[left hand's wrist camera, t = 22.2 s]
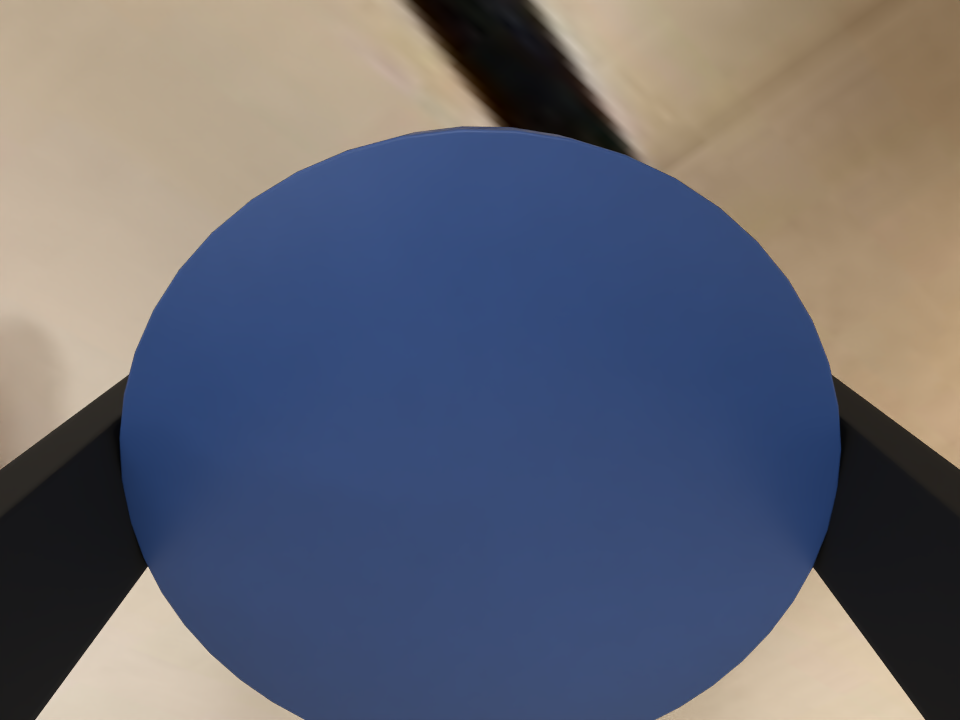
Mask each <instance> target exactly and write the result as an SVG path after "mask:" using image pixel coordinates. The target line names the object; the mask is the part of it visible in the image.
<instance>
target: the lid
mask: <svg viewBox="0 0 960 720" xmlns="http://www.w3.org/2000/svg"><path fill="white" fill-rule="evenodd" d="M840 456H841V438H840V422H839V406H838V402H837V397H836V392H835V388H834V383H833V379H832V374H831V370H830V365H829V362H828V359H827V356H826V354H825V351H824V349H823V346H822V344H821V341H820V339H819V336H818V334H817V331H816V328H815V326H814V323H813V321H812V319H811V317H810V316H809V314H808V312H807V310H806V309H805V307H804V305H803V304H802V302H801V300H800V298H799V297H798V295H797V293H796V292H795V290H794V288H793V287H792V285H791V283H790V281H789V280H788V279H787V277H786V276H785V275H784V274H783V272H782V271H781V270H780V269H779V268H778V266H777V265H776V264H775V263H774V261H773V260H772V259H771V258H770V256H769V255H768V254H767V253H766V252H765V250H764V249H763V248H762V247H761V245H760V244H759V243H758V242H757V241H756V240H755V239H754V238H753V237H752V236H751V235H749V234H748V233H747V232H746V231H745V230H744V229H743V228H742V227H741V226H739V225H738V224H737V223H736V222H735V221H734V220H733V219H732V218H731V217H729V216H728V215H727V214H726V213H725V212H724V211H723V210H722V209H721V208H719V207H718V206H716V205H715V204H713V203H712V202H710V201H709V200H707V199H706V198H704V197H703V196H701V195H700V194H698V193H697V192H695V191H694V190H692V189H691V188H689V187H688V186H686V185H685V184H683V183H682V182H680V181H679V180H677V179H676V178H674V177H672V176H669V175H667V174H665V173H663V172H661V171H659V170H657V169H654V168H652V167H650V166H648V165H646V164H644V163H642V162H640V161H637V160H635V159H633V158H631V157H629V156H627V155H624V154H621V153H618V152H614V151H611V150H608V149H604V148H601V147H598V146H595V145H591V144H588V143H585V142H582V141H578V140H575V139H572V138H568V137H564V136H560V135H556V134H549V133H543V132H537V131H530V130H524V129H518V128H511V127H463V126H462V127H454V128H446V129H438V130H429V131H421V132H414V133H410V134H406V135H403V136H399V137H395V138H392V139H388V140H384V141H380V142H377V143H373V144H369V145H365V146H362V147H358V148H354V149H350V150H347V151H345V152H342V153H340V154H338V155H335V156H333V157H331V158H328V159H326V160H324V161H321V162H319V163H317V164H314V165H312V166H310V167H307V168H305V169H303V170H300V171H298V172H296V173H294V174H293V175H291V176H289V177H288V178H286V179H285V180H283V181H281V182H280V183H278V184H276V185H275V186H273V187H271V188H270V189H268V190H267V191H265V192H263V193H262V194H260V195H258V196H257V197H255V198H253V199H252V200H251V201H249V202H248V203H247V204H246V205H245V206H243V207H242V208H241V209H240V210H239V211H237V212H236V213H235V214H234V215H233V216H231V217H230V218H229V219H228V220H227V221H225V222H224V223H223V224H222V225H221V226H219V227H218V228H217V229H216V230H215V231H213V232H212V233H211V234H210V235H209V237H208V238H207V239H206V240H205V241H204V242H203V243H202V245H201V246H200V247H199V248H198V249H197V250H196V251H195V252H194V254H193V255H192V256H191V257H190V258H189V259H188V260H187V262H186V263H185V264H184V265H183V266H182V267H181V268H180V269H179V271H178V272H177V274H176V276H175V277H174V279H173V280H172V282H171V283H170V285H169V287H168V288H167V290H166V291H165V293H164V294H163V296H162V297H161V299H160V301H159V302H158V304H157V305H156V307H155V308H154V310H153V312H152V315H151V317H150V319H149V321H148V324H147V326H146V328H145V330H144V333H143V335H142V337H141V340H140V342H139V344H138V346H137V349H136V351H135V354H134V358H133V362H132V366H131V370H130V373H129V377H128V381H127V385H126V389H125V392H124V398H123V408H122V418H121V428H120V457H121V476H122V483H123V488H124V493H125V497H126V502H127V506H128V511H129V515H130V520H131V524H132V527H133V530H134V533H135V535H136V538H137V541H138V544H139V546H140V549H141V552H142V555H143V558H144V559H145V561H146V563H147V565H148V567H149V569H150V571H151V573H152V575H153V577H154V579H155V580H156V582H157V584H158V586H159V588H160V590H161V592H162V594H163V595H164V596H165V598H166V599H167V601H168V602H169V604H170V605H171V606H172V608H173V609H174V611H175V612H176V614H177V615H178V616H179V618H180V619H181V621H182V622H183V624H184V625H185V626H186V627H187V628H188V629H189V630H190V632H191V633H192V634H193V635H194V636H195V637H196V638H197V639H198V640H199V641H200V643H201V644H202V645H203V646H204V647H205V648H206V649H207V650H208V651H209V653H210V654H211V655H213V656H214V657H215V658H216V659H217V660H218V661H219V662H221V663H222V664H223V665H224V666H225V667H226V668H227V669H229V670H230V671H231V672H232V673H233V674H234V675H235V676H237V677H238V678H239V679H240V680H241V681H243V682H244V683H246V684H247V685H249V686H250V687H251V688H253V689H254V690H256V691H257V692H259V693H260V694H262V695H263V696H264V697H266V698H267V699H269V700H270V701H272V702H273V703H275V704H277V705H279V706H281V707H282V708H284V709H286V710H288V711H290V712H292V713H293V714H295V715H297V716H299V717H301V718H303V719H304V720H656V719H658V718H660V717H662V716H663V715H665V714H667V713H669V712H671V711H673V710H675V709H677V708H679V707H681V706H682V705H684V704H685V703H687V702H688V701H690V700H692V699H693V698H695V697H696V696H698V695H699V694H701V693H702V692H704V691H705V690H707V689H708V688H710V687H711V686H713V685H714V684H715V683H717V682H718V681H719V680H720V679H721V678H723V677H724V676H725V675H726V674H727V673H729V672H730V671H731V670H732V669H733V668H735V667H736V666H737V665H738V664H740V663H741V662H742V661H743V660H744V659H745V658H746V657H747V656H748V655H749V654H750V653H751V652H752V651H753V650H754V649H755V648H756V647H757V646H758V644H759V643H760V642H761V641H762V640H763V639H764V638H765V637H766V636H767V635H768V634H769V633H770V632H771V630H772V629H773V628H774V626H775V625H776V624H777V622H778V621H779V620H780V618H781V617H782V616H783V614H784V613H785V612H786V610H787V609H788V608H789V606H790V605H791V604H792V602H793V601H794V599H795V598H796V596H797V594H798V592H799V591H800V589H801V587H802V585H803V583H804V582H805V580H806V578H807V576H808V575H809V573H810V571H811V569H812V568H813V565H814V563H815V560H816V558H817V555H818V553H819V550H820V548H821V545H822V543H823V540H824V538H825V535H826V533H827V530H828V527H829V523H830V518H831V514H832V510H833V505H834V501H835V496H836V492H837V487H838V478H839V467H840Z"/></svg>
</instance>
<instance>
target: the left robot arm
mask: <svg viewBox="0 0 960 720" xmlns="http://www.w3.org/2000/svg"><path fill="white" fill-rule="evenodd" d="M128 377H129V375H128V376H126V377H125V378H124V379H122V380H121V381H120V382H118V383H117V384H116V385H114V386H113V387H112V388H110V389H109V390H108V391H106V392H105V393H104V394H102V395H101V396H99V397H98V398H97V399H95V400H94V401H93V402H91V403H90V404H89V405H87V406H86V407H85V408H83V409H82V410H81V411H79V412H78V413H77V414H75V415H74V416H72V417H71V418H70V419H68V420H67V421H66V422H64V423H63V424H62V425H60V426H59V427H58V428H56V429H55V430H54V431H52V432H51V433H50V434H48V435H47V436H45V437H44V438H43V439H41V440H40V441H39V442H37V443H36V444H35V445H33V446H32V447H31V448H29V449H28V450H27V451H25V452H24V453H23V454H21V455H20V456H18V457H17V458H16V459H14V460H13V461H12V462H10V463H9V464H8V465H6V466H5V467H4V468H2V469H1V470H0V720H35V719H36V718H37V717H38V715H39V714H40V712H41V711H42V710H43V708H44V707H45V706H46V704H47V703H48V702H49V700H50V699H51V697H52V696H53V695H54V693H55V692H56V691H57V689H58V688H59V687H60V685H61V684H62V683H63V681H64V680H65V678H66V677H67V676H68V674H69V673H70V672H71V670H72V669H73V668H74V666H75V665H76V663H77V662H78V661H79V659H80V658H81V657H82V655H83V654H84V653H85V651H86V650H87V649H88V647H89V646H90V644H91V643H92V642H93V640H94V639H95V638H96V636H97V635H98V634H99V632H100V631H101V629H102V628H103V627H104V625H105V624H106V623H107V621H108V620H109V619H110V617H111V616H112V614H113V613H114V612H115V610H116V609H117V608H118V606H119V605H120V604H121V602H122V601H123V600H124V598H125V597H126V595H127V594H128V593H129V591H130V590H131V589H132V587H133V586H134V585H135V583H136V582H137V580H138V579H139V578H140V576H141V575H142V574H143V572H144V571H145V570H146V568H147V567H148V565H147V563H146V561H145V559H144V558H143V555H142V552H141V549H140V546H139V544H138V541H137V538H136V535H135V533H134V530H133V527H132V524H131V520H130V515H129V511H128V506H127V502H126V497H125V493H124V488H123V483H122V476H121V457H120V428H121V418H122V408H123V398H124V392H125V389H126V385H127V381H128ZM832 379H833V383H834V388H835V392H836V397H837V402H838V406H839V422H840V438H841V456H840V467H839V478H838V487H837V492H836V496H835V501H834V505H833V510H832V514H831V518H830V523H829V527H828V530H827V533H826V535H825V538H824V540H823V543H822V545H821V548H820V550H819V553H818V555H817V558H816V560H815V563H814V565H813V568H814V569H815V570H816V572H817V573H818V574H819V576H820V577H821V578H822V580H823V581H824V583H825V584H826V585H827V587H828V588H829V589H830V591H831V592H832V593H833V595H834V596H835V598H836V599H837V600H838V602H839V603H840V604H841V606H842V607H843V608H844V610H845V611H846V613H847V614H848V615H849V617H850V618H851V619H852V621H853V622H854V623H855V625H856V626H857V627H858V629H859V630H860V632H861V633H862V634H863V636H864V637H865V638H866V640H867V641H868V642H869V644H870V645H871V647H872V648H873V649H874V651H875V652H876V653H877V655H878V656H879V657H880V659H881V660H882V661H883V663H884V664H885V666H886V667H887V668H888V670H889V671H890V672H891V674H892V675H893V676H894V678H895V679H896V681H897V682H898V683H899V685H900V686H901V687H902V689H903V690H904V691H905V693H906V694H907V696H908V697H909V698H910V700H911V701H912V702H913V704H914V705H915V706H916V708H917V709H918V710H919V712H920V713H921V715H922V716H923V717H924V719H925V720H960V469H958V468H957V467H956V466H954V465H953V464H951V463H950V462H949V461H947V460H946V459H945V458H943V457H942V456H941V455H939V454H938V453H937V452H935V451H934V450H933V449H931V448H930V447H929V446H927V445H926V444H924V443H923V442H922V441H920V440H919V439H918V438H916V437H915V436H914V435H912V434H911V433H910V432H908V431H907V430H906V429H904V428H903V427H902V426H900V425H899V424H897V423H896V422H895V421H893V420H892V419H891V418H889V417H888V416H887V415H885V414H884V413H883V412H881V411H880V410H879V409H877V408H876V407H875V406H873V405H872V404H870V403H869V402H868V401H866V400H865V399H864V398H862V397H861V396H860V395H858V394H857V393H856V392H854V391H853V390H852V389H850V388H849V387H848V386H846V385H845V384H843V383H842V382H841V381H839V380H838V379H837V378H835V377H834V376H833V375H832Z"/></svg>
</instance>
